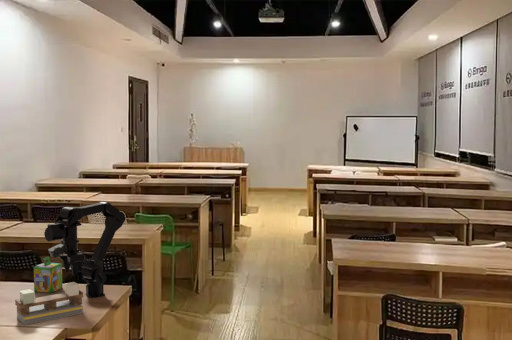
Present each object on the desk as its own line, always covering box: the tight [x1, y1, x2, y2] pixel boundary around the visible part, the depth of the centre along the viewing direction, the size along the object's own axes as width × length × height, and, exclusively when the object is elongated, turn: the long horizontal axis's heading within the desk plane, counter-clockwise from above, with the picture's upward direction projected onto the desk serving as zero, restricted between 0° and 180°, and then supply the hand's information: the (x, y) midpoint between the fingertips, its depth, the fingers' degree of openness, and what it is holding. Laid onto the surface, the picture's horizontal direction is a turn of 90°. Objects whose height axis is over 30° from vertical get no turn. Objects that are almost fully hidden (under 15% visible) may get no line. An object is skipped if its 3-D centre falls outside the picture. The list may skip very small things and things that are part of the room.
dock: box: [16, 300, 84, 326], centre depth 215 cm, size 22×10×3 cm, turn 128°
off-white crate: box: [63, 281, 80, 296], centre depth 219 cm, size 4×5×4 cm
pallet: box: [14, 289, 84, 316], centre depth 214 cm, size 24×6×5 cm, turn 128°
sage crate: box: [19, 288, 36, 305], centre depth 209 cm, size 4×5×4 cm
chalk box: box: [33, 256, 63, 294], centre depth 248 cm, size 9×9×15 cm
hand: (70, 274), depth 230 cm, fingers open, 9 cm apart
